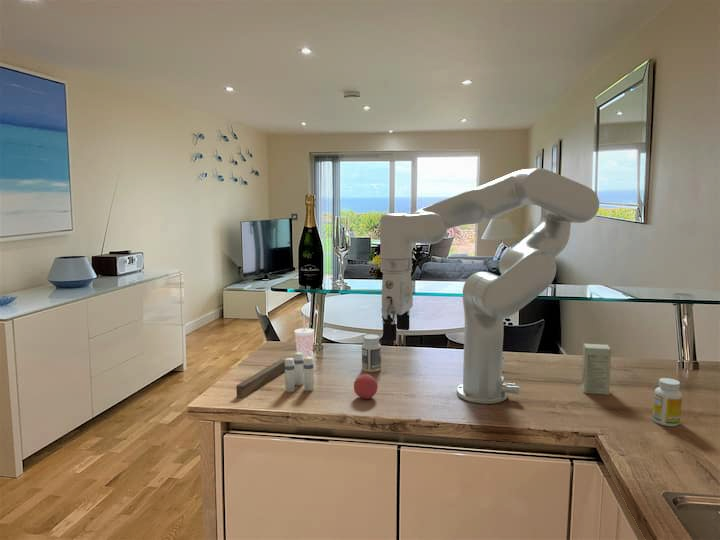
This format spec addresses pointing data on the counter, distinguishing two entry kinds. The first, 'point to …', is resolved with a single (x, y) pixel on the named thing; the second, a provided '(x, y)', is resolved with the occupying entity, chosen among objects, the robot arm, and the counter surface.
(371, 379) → the ball
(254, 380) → the back rail
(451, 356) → the counter surface
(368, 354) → the pill bottle
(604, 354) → the skincare box
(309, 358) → the pin front
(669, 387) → the supplement bottle
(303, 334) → the beverage cup
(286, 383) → the pin rear left
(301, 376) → the pin rear right
